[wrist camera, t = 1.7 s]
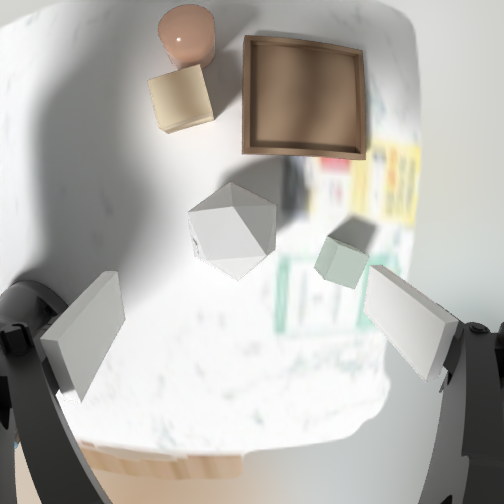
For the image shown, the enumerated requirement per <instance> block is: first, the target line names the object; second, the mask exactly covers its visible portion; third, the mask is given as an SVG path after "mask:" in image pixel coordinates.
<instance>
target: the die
mask: <svg viewBox="0 0 504 504" xmlns="http://www.w3.org/2000/svg"><path fill="white" fill-rule="evenodd" d="M276 214H277V205H275V204H273V203H271V202H269V201H267V200H265V199H263V198H262V197H260V196H258V195H256V194H254V193H252V192H250V191H248V190H246V189H244V188H242V187H240V186H238V185H236V184H234V183H232V182H229V183H227V184H226V185H224V186H223V187H222V188H220V189H219V190H217V191H216V192H215V193H213V194H212V195H210V196H209V197H208V198H206V199H205V200H203V201H202V202H201V203H199V204H198V205H197V206H195V207H194V208H193V209H191V210H190V211H189V212H188V219H189V226H190V232H191V238H192V245H193V251H194V256H195V257H197V258H198V259H200V260H202V261H203V262H205V263H207V264H209V265H210V266H212V267H214V268H215V269H217V270H219V271H221V272H222V273H224V274H226V275H227V276H229V277H231V278H233V279H234V280H236V281H239V280H240V279H241V278H242V277H243V276H245V275H246V274H247V273H248V272H249V271H251V270H252V269H253V268H254V267H255V266H256V265H258V264H259V263H260V262H261V261H262V260H264V259H265V258H266V257H267V256H268V255H269V254H271V253H272V252H273V251H274V250H275V246H276Z"/></svg>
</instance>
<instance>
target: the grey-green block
mask: <svg viewBox="0 0 504 504" xmlns="http://www.w3.org/2000/svg"><path fill="white" fill-rule="evenodd" d="M369 257H370V256H368V255H367V254H365V253H363V252H362V251H360V250H359V249H357V248H356V247H354V246H351V245H349V244H346V243H344V242H341V241H339V240H336V239H333V238H331V237H328V236H327V237H326V240H325V242H324V245H323V247H322V249H321V252H320V254H319V257H318V259H317V261H316V264H315V266H314V268H315V269H316V271H317V272H318V273H319V274H320V275H321V276H322V277H323V279H324V280H327V281H331V282H334V283H337V284H340V285H343V286H346V287H349V288H352V289H355V288H356V285H357V283H358V281H359V279H360V277H361V275H362V272H363V270H364V268H365V266H366V264H367V261H368V259H369Z"/></svg>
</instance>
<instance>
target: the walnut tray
mask: <svg viewBox="0 0 504 504" xmlns="http://www.w3.org/2000/svg"><path fill="white" fill-rule="evenodd" d="M242 154H256V155H291V156H310V157H326V158H339V159H350V160H366V105H365V81H364V65H363V52H362V50H357V49H353V48H348V47H343V46H338V45H333V44H327V43H321V42H314V41H307V40H299V39H291V38H281V37H268V36H250V35H245V37H244V42H243V87H242Z"/></svg>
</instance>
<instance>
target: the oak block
mask: <svg viewBox="0 0 504 504" xmlns="http://www.w3.org/2000/svg"><path fill="white" fill-rule="evenodd" d="M148 85H149V89H150V93H151V98H152V102H153V106H154V110H155V114H156V118H157V122H158V126H159V128H160V129H161V130H163V131H165V132H166V133H168V134H170V133H173V132H176V131H179V130H182V129H185V128H189V127H192V126H196V125H199V124H203V123H206V122H210V121H213V120H214V117H213V111H212V107H211V104H210V100H209V96H208V93H207V89H206V85H205V81H204V78H203V74H202V70H201V67H200V64H199V65H195V66H191V67H188V68H184V69H181V70H178V71H174V72H171V73H168V74H165V75H162V76H159V77H156V78H153V79H150V80H148Z"/></svg>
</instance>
